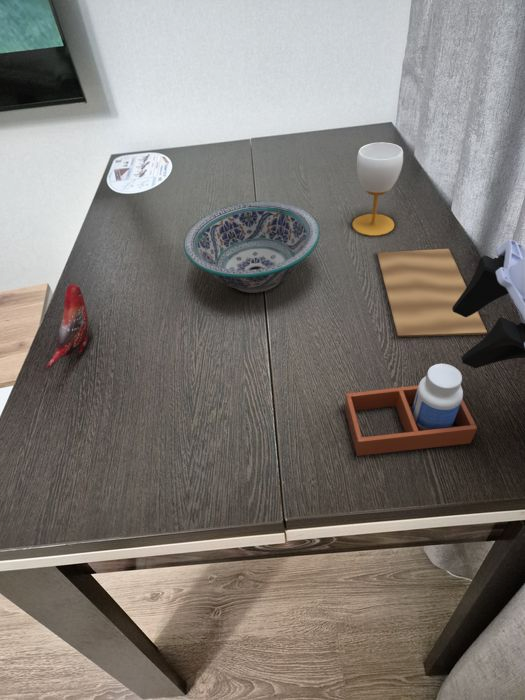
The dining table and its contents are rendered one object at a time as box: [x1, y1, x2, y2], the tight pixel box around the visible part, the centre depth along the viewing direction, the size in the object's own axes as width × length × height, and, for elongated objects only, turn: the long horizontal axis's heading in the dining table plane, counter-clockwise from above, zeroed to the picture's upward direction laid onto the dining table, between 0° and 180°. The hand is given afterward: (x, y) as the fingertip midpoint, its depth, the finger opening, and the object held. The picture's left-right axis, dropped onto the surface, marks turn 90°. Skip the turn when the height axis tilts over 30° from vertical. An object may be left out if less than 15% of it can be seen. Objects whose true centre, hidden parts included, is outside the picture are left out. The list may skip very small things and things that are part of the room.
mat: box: [376, 248, 488, 339], centre depth 79 cm, size 24×14×1 cm, turn 178°
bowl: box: [183, 200, 321, 294], centre depth 84 cm, size 25×25×10 cm
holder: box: [344, 384, 478, 457], centre depth 59 cm, size 15×8×4 cm, turn 94°
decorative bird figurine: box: [45, 283, 90, 371], centre depth 72 cm, size 3×18×10 cm, turn 178°
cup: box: [352, 141, 404, 237], centre depth 90 cm, size 9×9×16 cm
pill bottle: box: [411, 363, 464, 431], centre depth 57 cm, size 6×5×10 cm
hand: (463, 336), depth 51 cm, fingers open, 7 cm apart
